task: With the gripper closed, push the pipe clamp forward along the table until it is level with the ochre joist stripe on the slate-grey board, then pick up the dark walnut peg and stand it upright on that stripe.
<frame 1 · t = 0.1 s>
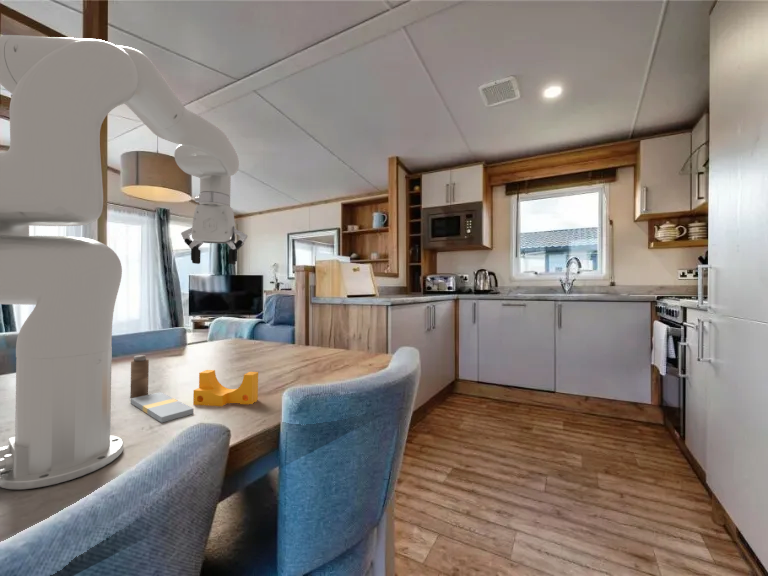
hand: (214, 263, 90), 31 cm above the table, tool pointing down, fingers open, 9 cm apart
pipe clamp: (226, 404, 70), on the table
board: (160, 408, 66), on the table
peg: (139, 395, 73), on the table
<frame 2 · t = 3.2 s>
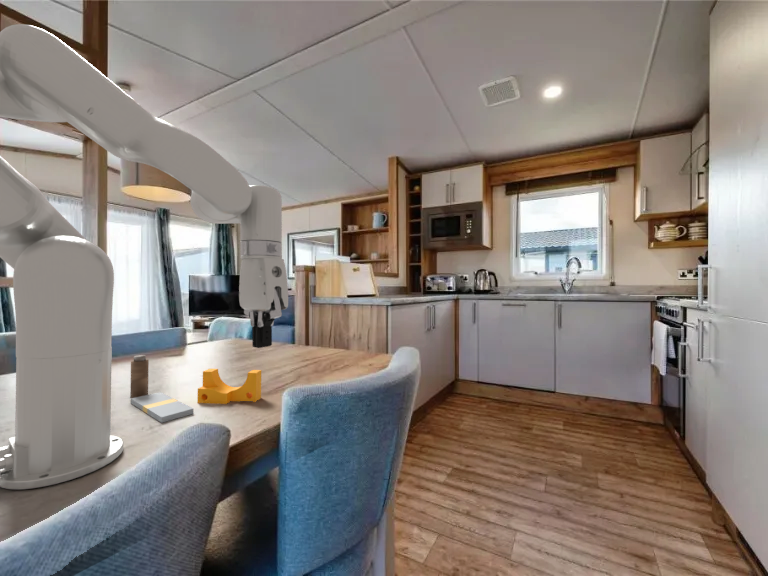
hand: (262, 346, 63), 14 cm above the table, tool pointing down, fingers closed
pipe clamp: (230, 402, 72), on the table
everything else where it was.
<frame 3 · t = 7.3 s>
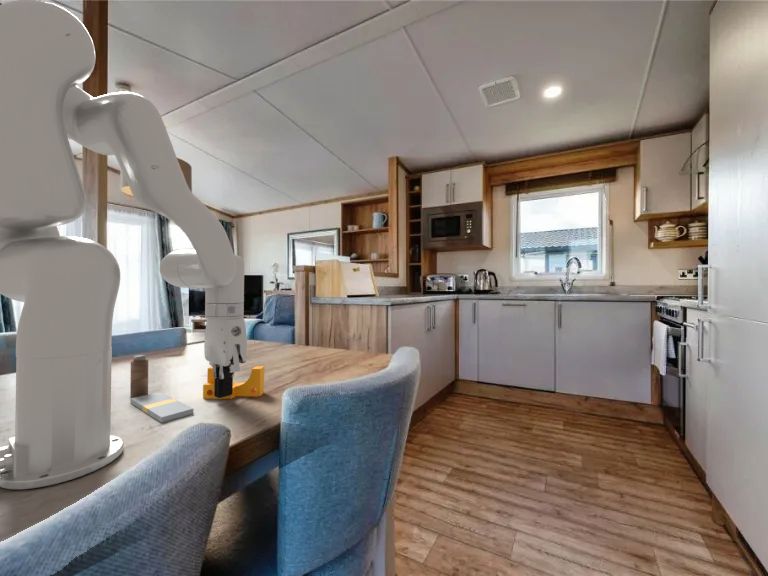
hand: (223, 395, 71), 1 cm above the table, tool pointing down, fingers closed
pipe clamp: (234, 397, 75), on the table
everything else where it was.
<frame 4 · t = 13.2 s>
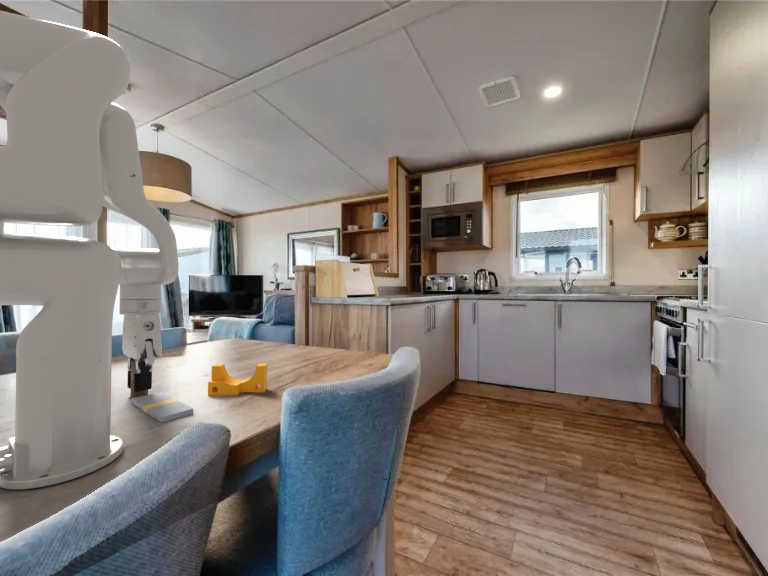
hand: (139, 387, 73), 2 cm above the table, tool pointing down, fingers closed on peg, 3 cm apart
pipe clamp: (238, 393, 77), on the table
peg: (139, 395, 73), on the table, touching gripper
when the fingers open (4 cm above the table, at t = 17.5 s): peg stays where it is, resting on board.
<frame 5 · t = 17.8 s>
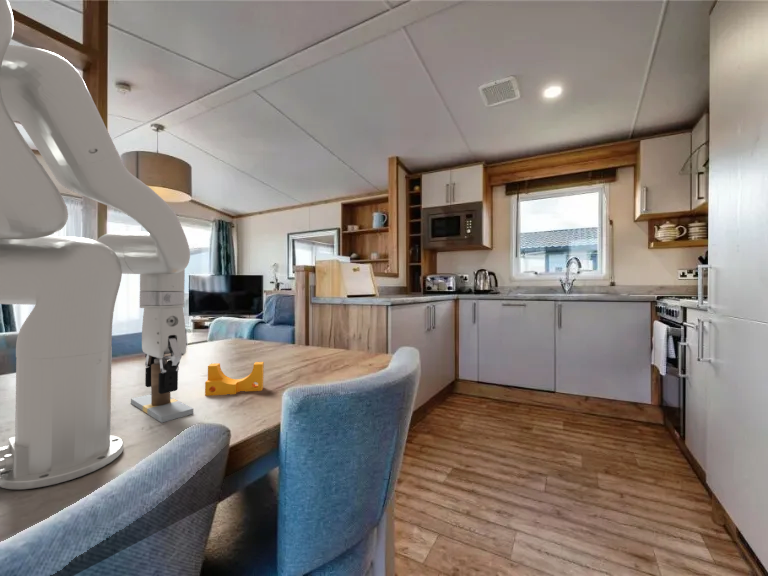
hand: (161, 387, 66), 4 cm above the table, tool pointing down, fingers open, 6 cm apart
pipe clamp: (235, 392, 78), on the table
peg: (161, 403, 66), point 1 cm above the table, touching board
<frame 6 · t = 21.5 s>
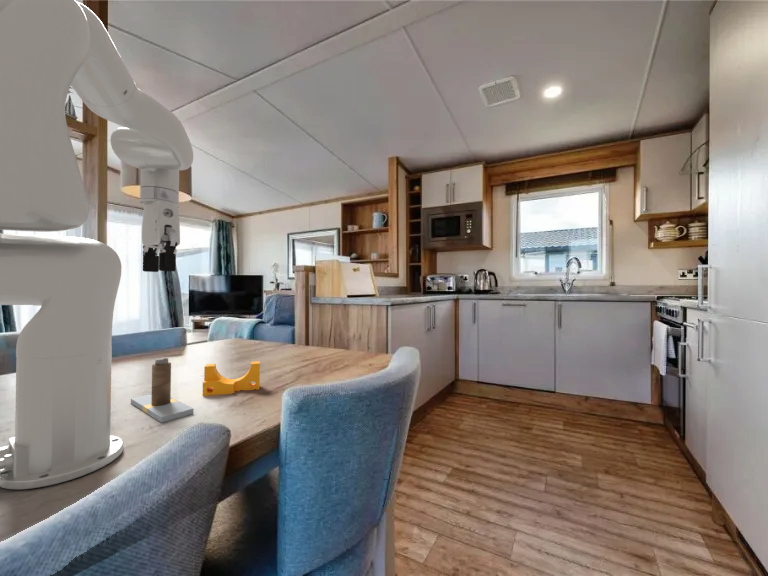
hand: (158, 271, 77), 28 cm above the table, tool pointing down, fingers open, 9 cm apart
at the end: pipe clamp inside the target area (5.2 cm from its centre), on the table; peg 0.1 cm from the target spot, point 1.0 cm above the table; peg tilted 0° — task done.
